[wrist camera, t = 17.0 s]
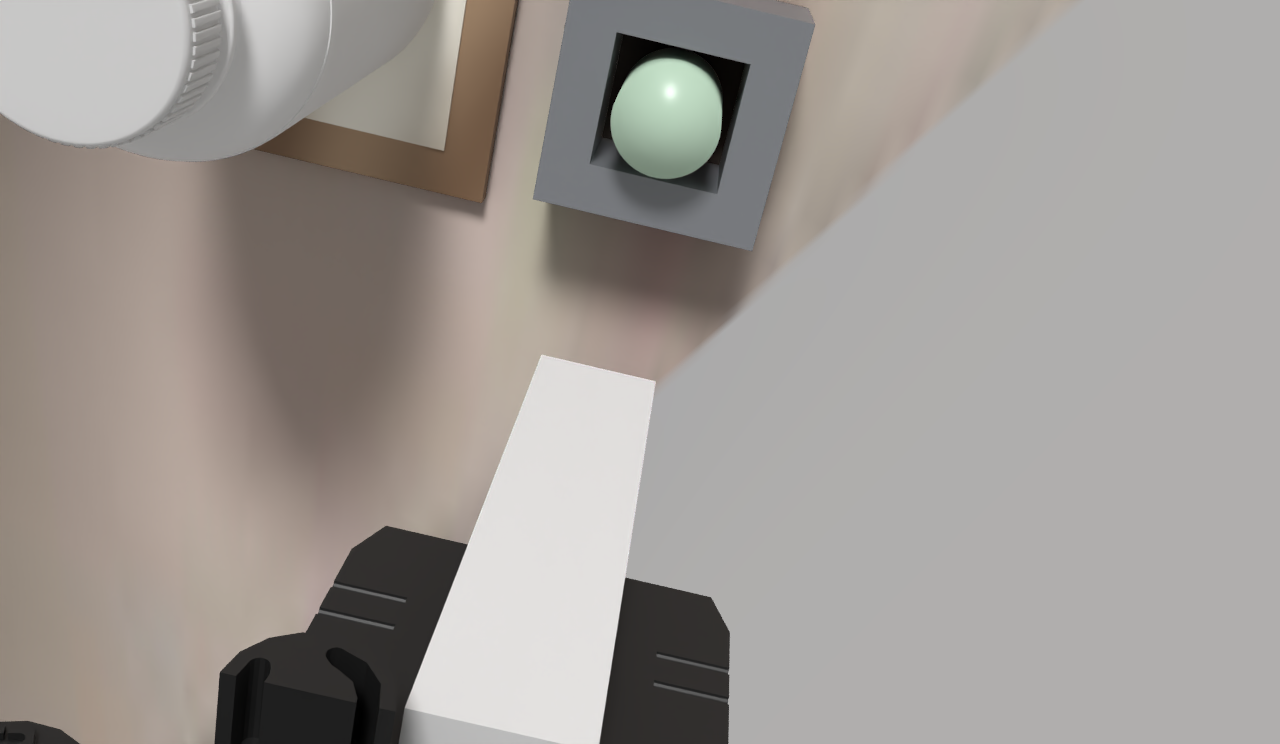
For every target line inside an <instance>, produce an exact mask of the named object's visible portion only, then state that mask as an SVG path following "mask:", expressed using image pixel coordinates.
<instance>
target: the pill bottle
mask: <svg viewBox="0 0 1280 744" xmlns="http://www.w3.org/2000/svg"><path fill="white" fill-rule="evenodd" d="M434 1H435V0H0V114H2V115H3V116H4V117H6V118H7V119H9V120H10V121H12V122H13V123H15V124H16V125H18V126H20V127H22V128H23V129H25V130H27V131H29V132H30V133H33V134H36V135H37V136H39V137H41V138H46V139H48V140H49V141H52V142H55V143H56V142H59V143H61V144H62V145H66V146H70V145H74V147H78V148H83V147H86V148H88V149H94V148H97V147H99V148H108V147H110V146H111V147H117V148H120V149H122V150H125V151H128V152H131V153H134V154H138V155H141V156H145V157H150V158H155V159H161V160H169V161H184V162H202V161H213V160H219V159H224V158H228V157H232V156H236V155H239V154H242V153H244V152H247V151H249V150H252V149H254V148H256V147H258V146H260V145H262V144H264V143H266V142H268V141H269V140H271V139H273V138H274V137H276V136H278V135H279V134H281V133H282V132H284V131H285V130H287V129H288V128H290V127H291V126H293V125H294V124H296V123H297V122H299V121H300V120H302V119H303V118H305V117H306V116H308V115H309V114H311V113H312V112H314V111H315V110H317V109H318V108H320V107H321V106H323V105H324V104H326V103H327V102H329V101H330V100H332V99H333V98H335V97H336V96H338V95H339V94H341V93H342V92H344V91H345V90H347V89H348V88H350V87H351V86H353V85H354V84H356V83H357V82H359V81H360V80H362V79H363V78H365V77H366V76H367V75H369V74H370V73H372V72H373V71H375V70H376V69H378V68H379V67H381V66H382V65H384V64H385V63H387V62H388V61H390V60H391V59H393V58H394V57H395V56H397V55H398V54H399V53H400V52H401V51H402V50H403V49H404V48H405V47H406V46H407V45H408V44H409V43H410V42H411V41H412V39H413V38H414V37H415V35H416V34H417V33H418V31H419V30H420V28H421V27H422V25H423V24H424V22H425V20H426V19H427V17H428V15H429V13H430V11H431V8H432V6H433V3H434Z"/></svg>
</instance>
